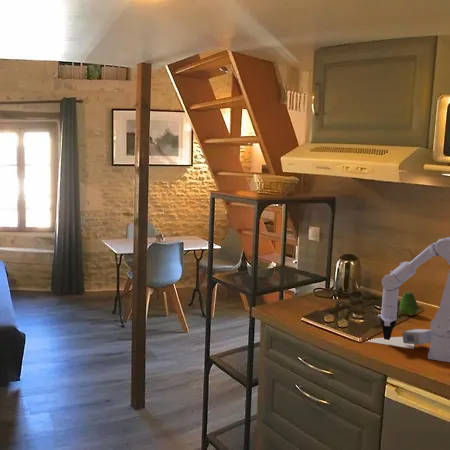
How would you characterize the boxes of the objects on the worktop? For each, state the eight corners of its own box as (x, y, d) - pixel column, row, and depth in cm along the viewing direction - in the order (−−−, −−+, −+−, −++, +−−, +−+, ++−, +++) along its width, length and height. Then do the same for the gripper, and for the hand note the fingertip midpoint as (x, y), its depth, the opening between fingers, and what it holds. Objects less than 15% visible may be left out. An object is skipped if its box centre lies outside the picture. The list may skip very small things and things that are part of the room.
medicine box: (419, 344, 186) (435, 341, 190) (418, 332, 187) (433, 329, 191) (403, 343, 193) (418, 340, 197) (401, 331, 193) (416, 328, 198)
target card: (415, 334, 210) (415, 333, 210) (413, 349, 192) (413, 348, 192) (365, 326, 217) (365, 326, 217) (359, 340, 199) (360, 340, 199)
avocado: (395, 315, 238) (397, 290, 236) (407, 314, 241) (410, 289, 239) (407, 320, 230) (409, 294, 229) (420, 319, 233) (422, 293, 232)
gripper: (380, 299, 203) (377, 332, 204) (377, 307, 189) (374, 342, 191) (399, 301, 200) (396, 335, 202) (396, 310, 187) (393, 346, 188)
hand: (386, 339), depth 196 cm, fingers closed
